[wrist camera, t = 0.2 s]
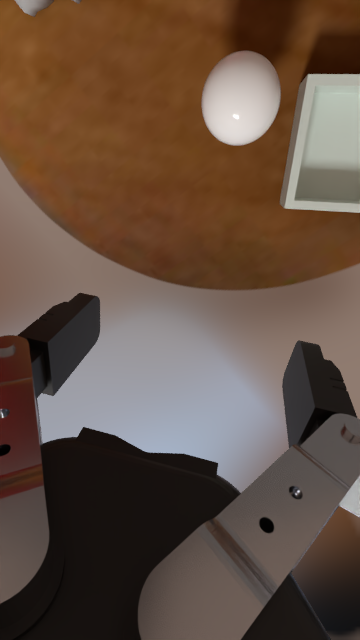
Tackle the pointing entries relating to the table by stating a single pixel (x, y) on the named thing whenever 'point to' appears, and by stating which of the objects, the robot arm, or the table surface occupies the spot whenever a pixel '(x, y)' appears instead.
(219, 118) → the lightbulb
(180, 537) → the robot arm
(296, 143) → the tray
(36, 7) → the bunny figurine
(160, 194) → the table surface
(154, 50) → the table surface
